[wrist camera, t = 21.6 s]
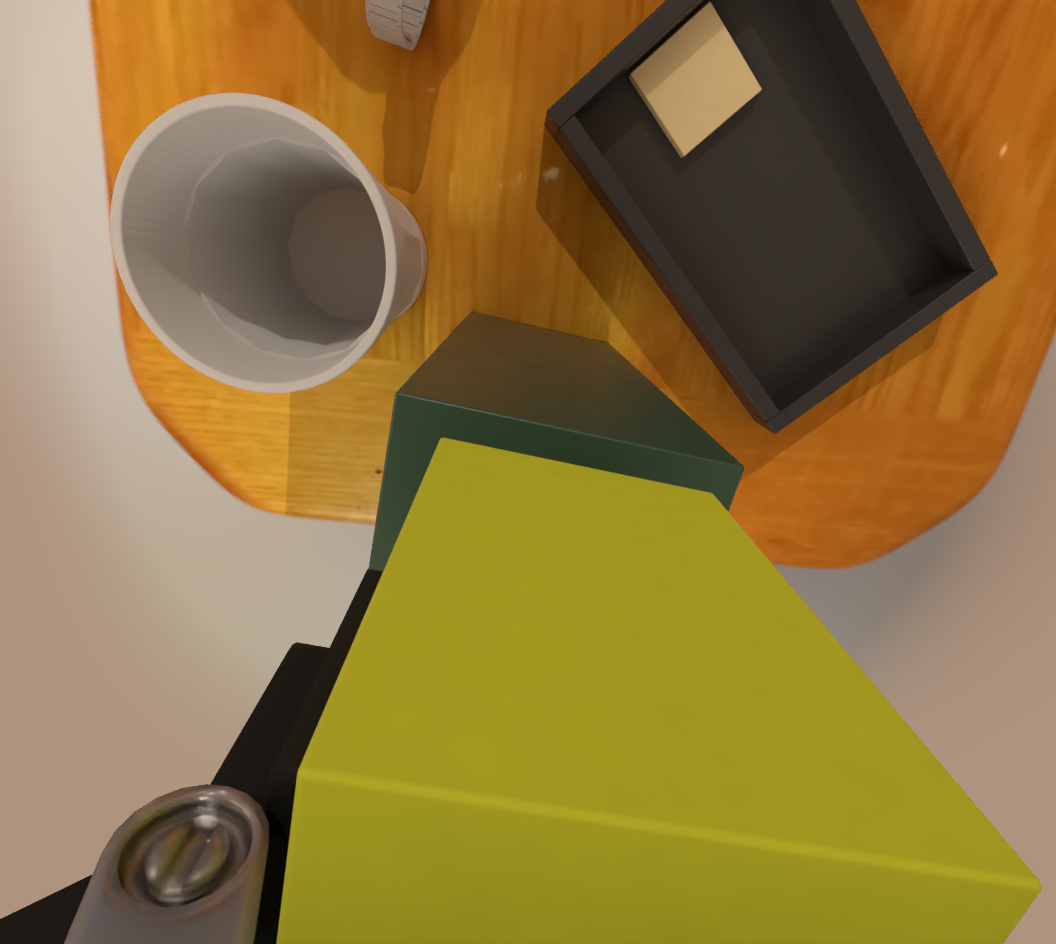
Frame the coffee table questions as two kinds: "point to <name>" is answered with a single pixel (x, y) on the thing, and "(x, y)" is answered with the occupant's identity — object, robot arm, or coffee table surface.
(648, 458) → the tall green box
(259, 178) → the cup
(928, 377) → the coffee table surface
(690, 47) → the beige flat square block
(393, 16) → the wristwatch
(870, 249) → the pan
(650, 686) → the yellow-green rectangular block
